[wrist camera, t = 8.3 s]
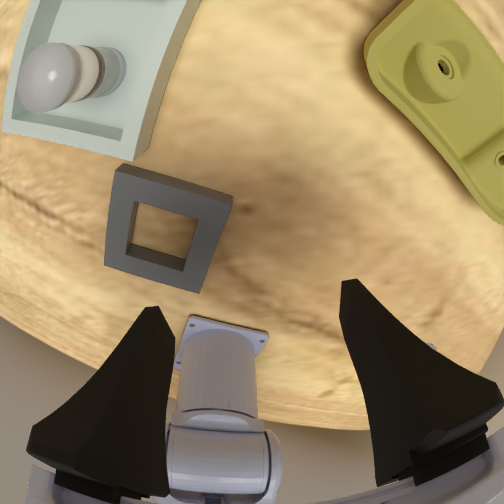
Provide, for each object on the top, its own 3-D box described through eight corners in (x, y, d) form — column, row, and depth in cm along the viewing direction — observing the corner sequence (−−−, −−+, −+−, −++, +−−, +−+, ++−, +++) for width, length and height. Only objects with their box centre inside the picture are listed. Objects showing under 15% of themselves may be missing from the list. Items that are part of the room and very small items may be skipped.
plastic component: (348, 66, 13) (454, -36, 5) (345, 44, 17) (420, -30, 9) (500, 241, 18) (577, 192, 10) (480, 187, 22) (543, 142, 14)
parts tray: (147, 148, 17) (132, 161, 15) (25, 121, 14) (1, 131, 12) (204, -6, 11) (197, -21, 9) (62, -14, 9) (40, -21, 6)
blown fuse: (117, 100, 15) (62, 117, 9) (75, 93, 14) (12, 110, 8) (133, 50, 13) (80, 43, 7) (88, 45, 12) (26, 42, 7)
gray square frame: (200, 281, 23) (198, 293, 22) (110, 254, 22) (103, 265, 20) (232, 196, 19) (232, 205, 18) (123, 163, 17) (115, 170, 16)
